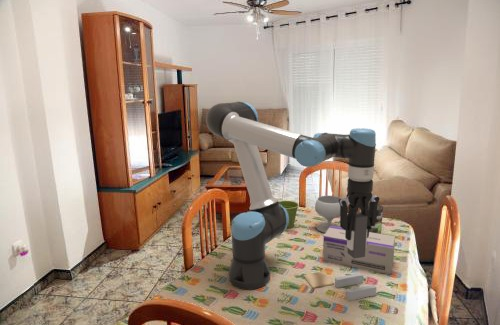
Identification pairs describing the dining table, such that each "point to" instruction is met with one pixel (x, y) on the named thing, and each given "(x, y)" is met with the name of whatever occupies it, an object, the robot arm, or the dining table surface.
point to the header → (356, 292)
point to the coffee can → (377, 220)
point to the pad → (318, 279)
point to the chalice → (327, 211)
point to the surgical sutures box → (376, 251)
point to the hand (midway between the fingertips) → (356, 247)
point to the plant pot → (290, 211)
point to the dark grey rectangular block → (359, 236)
